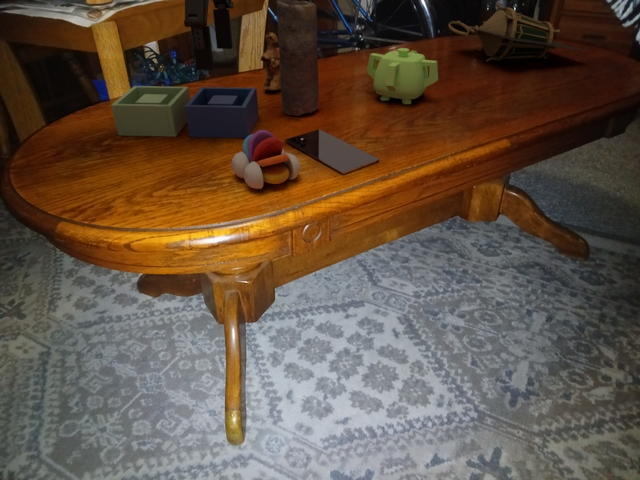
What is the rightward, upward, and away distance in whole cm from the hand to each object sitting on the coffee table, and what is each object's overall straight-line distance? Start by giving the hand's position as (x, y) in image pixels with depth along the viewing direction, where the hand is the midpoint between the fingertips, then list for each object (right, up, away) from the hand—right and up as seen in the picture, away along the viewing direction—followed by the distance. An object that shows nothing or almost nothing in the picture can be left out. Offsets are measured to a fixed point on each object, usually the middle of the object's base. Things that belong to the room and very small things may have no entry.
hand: (215, 58), depth 88 cm
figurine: (+8, +1, +24) cm, 25 cm away
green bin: (-13, -10, +8) cm, 18 cm away
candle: (+14, -6, +14) cm, 20 cm away
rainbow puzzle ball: (+10, -22, -10) cm, 26 cm away
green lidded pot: (+35, -1, +20) cm, 40 cm away
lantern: (+65, +14, +42) cm, 79 cm away
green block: (-13, -9, +8) cm, 17 cm away
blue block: (+1, -10, +7) cm, 12 cm away
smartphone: (+20, -17, -3) cm, 26 cm away
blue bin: (0, -10, +7) cm, 12 cm away
